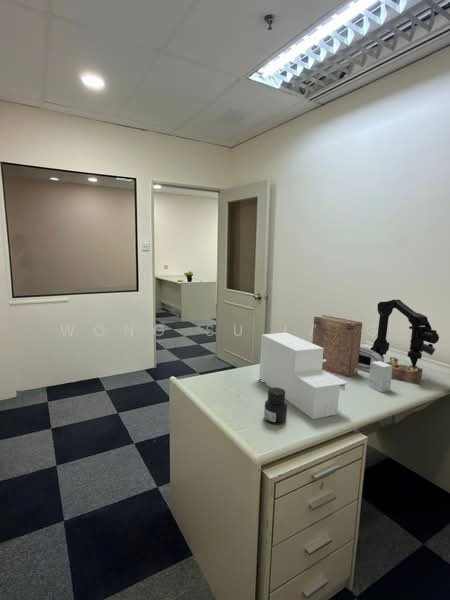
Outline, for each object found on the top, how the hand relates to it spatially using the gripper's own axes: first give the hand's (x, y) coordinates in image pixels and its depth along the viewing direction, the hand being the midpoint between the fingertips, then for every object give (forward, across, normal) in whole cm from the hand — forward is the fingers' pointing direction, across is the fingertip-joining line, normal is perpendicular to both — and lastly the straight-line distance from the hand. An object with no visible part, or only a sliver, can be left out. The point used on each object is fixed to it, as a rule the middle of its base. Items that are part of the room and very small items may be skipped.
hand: (414, 366), depth 174 cm
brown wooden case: (+8, -10, +40) cm, 42 cm away
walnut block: (+8, 0, +5) cm, 9 cm away
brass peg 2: (+6, 0, 0) cm, 6 cm away
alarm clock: (+8, +2, +27) cm, 28 cm away
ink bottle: (+8, -85, +42) cm, 95 cm away
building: (+8, -57, +43) cm, 72 cm away
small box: (+8, -24, +13) cm, 28 cm away
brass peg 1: (+4, 0, +10) cm, 11 cm away
